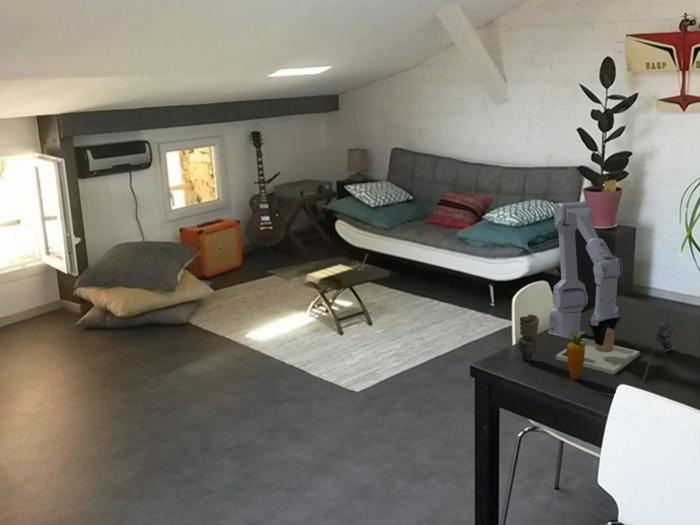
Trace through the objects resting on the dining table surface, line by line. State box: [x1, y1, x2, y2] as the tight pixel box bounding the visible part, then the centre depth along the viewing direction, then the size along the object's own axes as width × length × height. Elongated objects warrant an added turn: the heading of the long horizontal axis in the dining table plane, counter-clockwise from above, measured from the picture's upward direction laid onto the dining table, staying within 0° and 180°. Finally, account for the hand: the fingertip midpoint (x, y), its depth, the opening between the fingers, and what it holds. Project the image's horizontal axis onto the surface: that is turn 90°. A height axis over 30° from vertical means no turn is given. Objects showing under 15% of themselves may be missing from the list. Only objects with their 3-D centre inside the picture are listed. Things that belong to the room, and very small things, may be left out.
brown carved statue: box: [518, 314, 540, 362], centre depth 216 cm, size 6×6×15 cm
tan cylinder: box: [595, 328, 615, 352], centre depth 217 cm, size 5×5×6 cm
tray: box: [555, 337, 640, 375], centre depth 218 cm, size 18×18×2 cm
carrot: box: [566, 331, 585, 381], centre depth 202 cm, size 5×5×15 cm
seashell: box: [655, 320, 676, 353], centre depth 221 cm, size 5×5×10 cm
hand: (603, 341), depth 217 cm, fingers closed on tan cylinder, 5 cm apart
